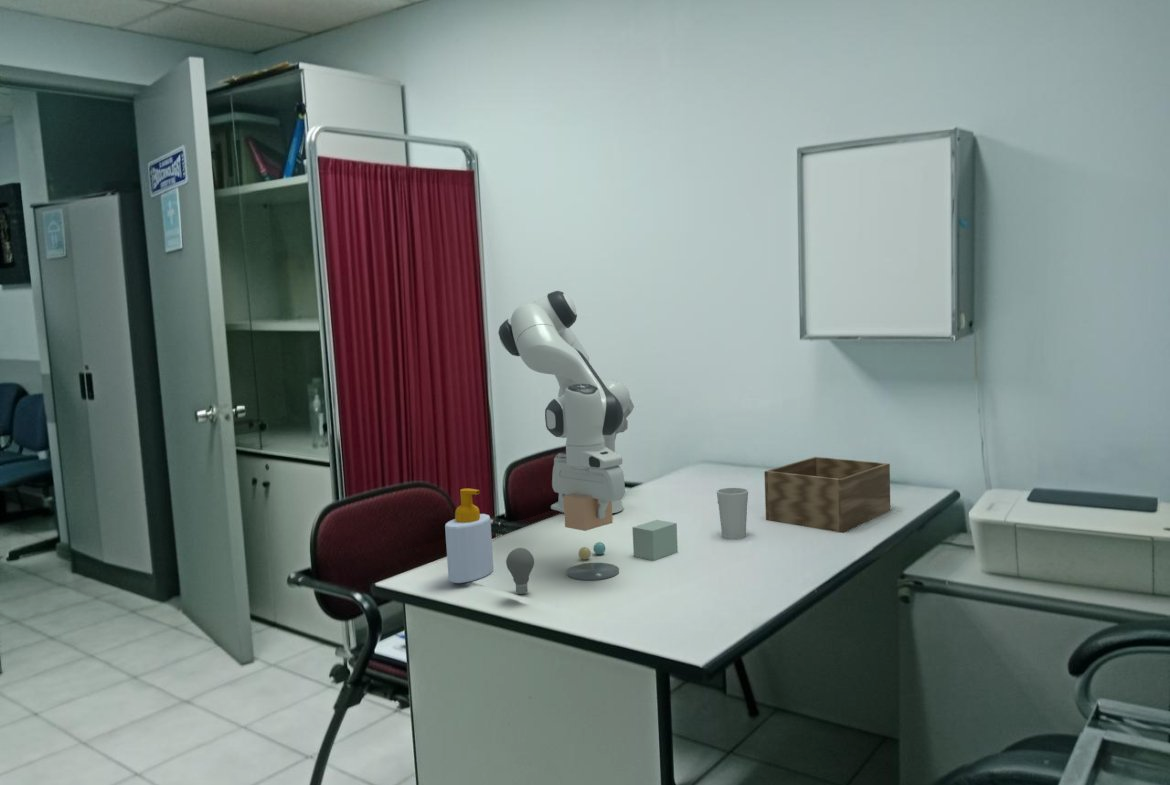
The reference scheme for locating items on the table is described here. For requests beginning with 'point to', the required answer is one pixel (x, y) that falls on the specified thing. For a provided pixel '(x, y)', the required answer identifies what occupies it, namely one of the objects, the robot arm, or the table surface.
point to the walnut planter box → (827, 493)
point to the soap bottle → (468, 542)
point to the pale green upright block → (655, 539)
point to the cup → (733, 512)
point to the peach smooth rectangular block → (584, 512)
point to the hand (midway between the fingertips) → (588, 515)
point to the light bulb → (520, 568)
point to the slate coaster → (592, 571)
